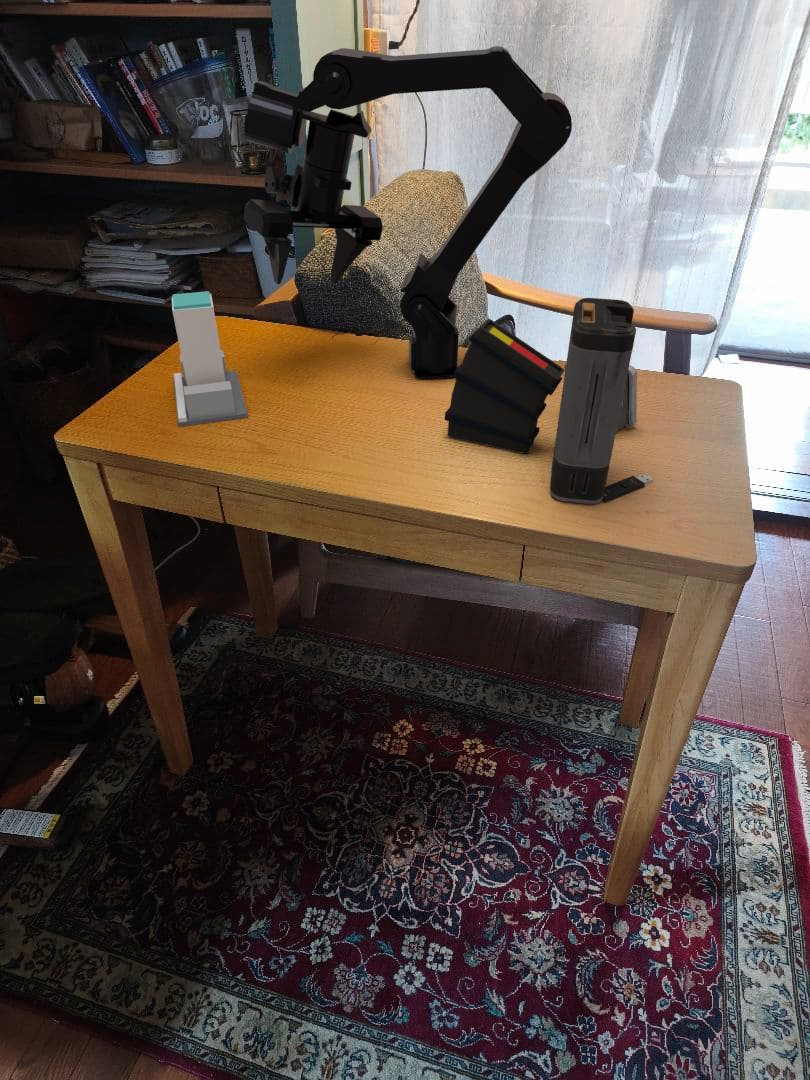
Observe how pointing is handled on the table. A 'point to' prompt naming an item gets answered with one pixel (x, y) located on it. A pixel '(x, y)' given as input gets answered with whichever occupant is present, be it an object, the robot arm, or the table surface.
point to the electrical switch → (628, 401)
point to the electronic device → (591, 398)
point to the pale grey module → (198, 338)
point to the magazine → (500, 390)
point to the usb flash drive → (625, 487)
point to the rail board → (209, 399)
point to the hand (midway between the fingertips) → (305, 282)
